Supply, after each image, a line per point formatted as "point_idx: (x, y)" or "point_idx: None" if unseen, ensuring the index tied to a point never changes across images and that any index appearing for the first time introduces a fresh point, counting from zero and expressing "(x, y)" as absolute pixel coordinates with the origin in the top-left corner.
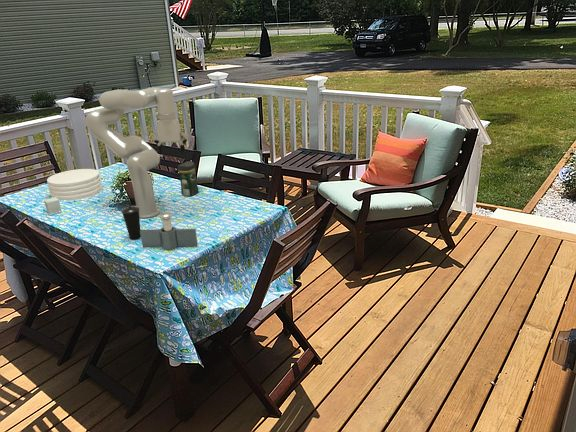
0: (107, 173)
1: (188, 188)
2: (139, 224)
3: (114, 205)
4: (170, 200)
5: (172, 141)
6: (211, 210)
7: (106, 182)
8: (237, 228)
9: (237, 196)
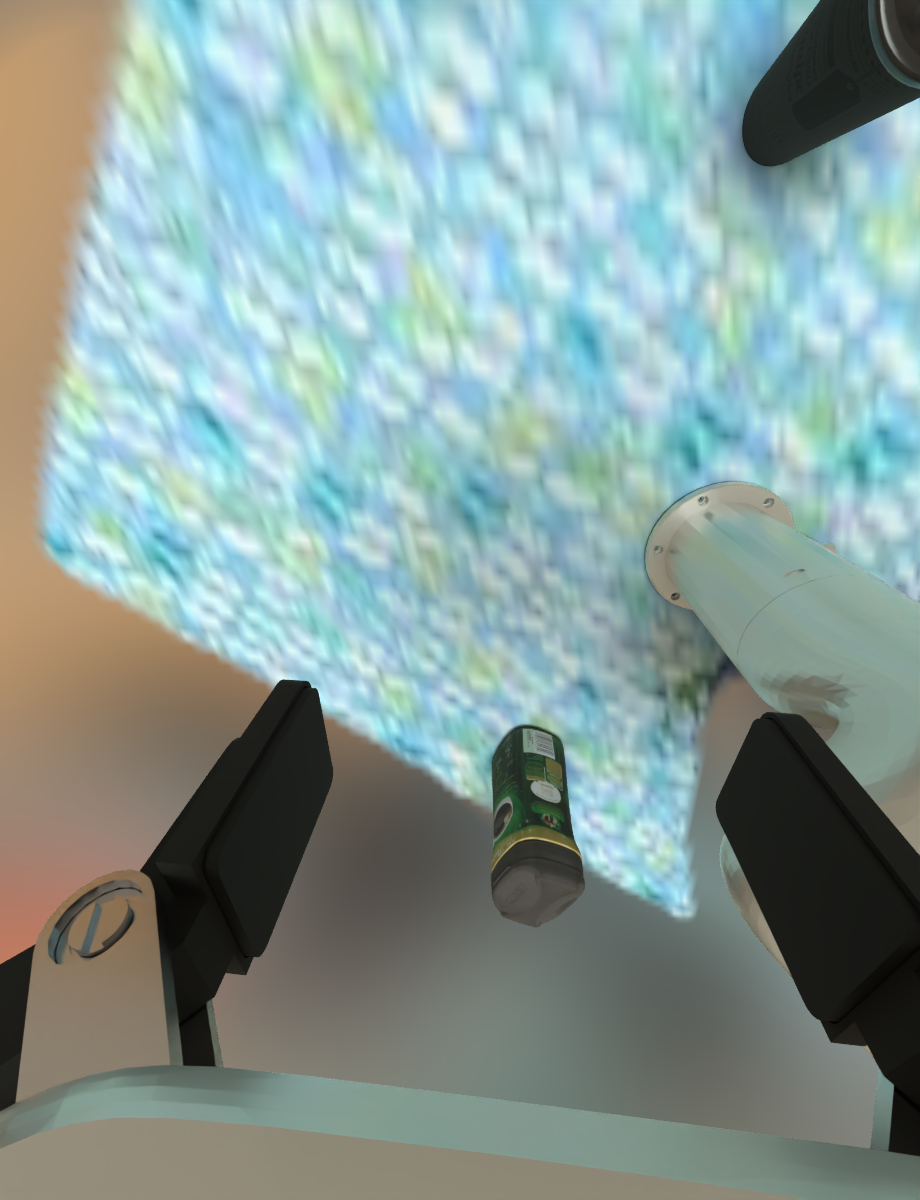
0: None
1: (525, 756)
2: (795, 51)
3: None
4: (608, 698)
5: (361, 1150)
6: (377, 559)
7: None
8: (140, 273)
9: None
